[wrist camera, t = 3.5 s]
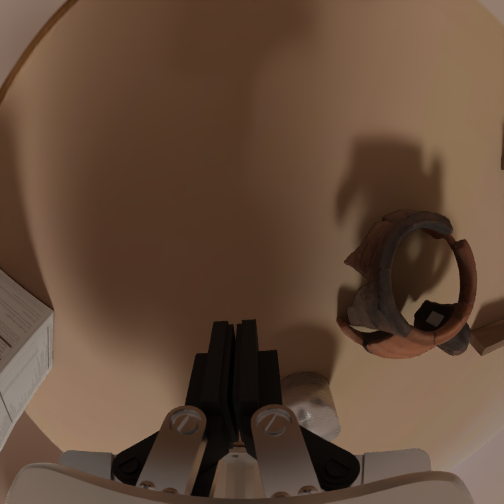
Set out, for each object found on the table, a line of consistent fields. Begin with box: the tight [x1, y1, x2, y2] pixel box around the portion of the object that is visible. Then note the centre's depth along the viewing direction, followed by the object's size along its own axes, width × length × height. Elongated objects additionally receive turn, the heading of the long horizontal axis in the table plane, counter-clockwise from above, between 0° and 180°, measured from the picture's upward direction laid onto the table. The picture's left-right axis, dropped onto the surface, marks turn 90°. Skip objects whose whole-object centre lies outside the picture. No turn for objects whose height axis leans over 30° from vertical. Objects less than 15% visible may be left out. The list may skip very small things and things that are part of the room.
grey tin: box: [280, 372, 341, 442], centre depth 19 cm, size 5×5×5 cm
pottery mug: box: [337, 210, 477, 359], centre depth 16 cm, size 12×10×8 cm
